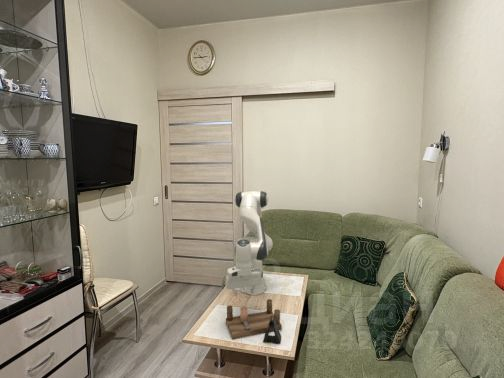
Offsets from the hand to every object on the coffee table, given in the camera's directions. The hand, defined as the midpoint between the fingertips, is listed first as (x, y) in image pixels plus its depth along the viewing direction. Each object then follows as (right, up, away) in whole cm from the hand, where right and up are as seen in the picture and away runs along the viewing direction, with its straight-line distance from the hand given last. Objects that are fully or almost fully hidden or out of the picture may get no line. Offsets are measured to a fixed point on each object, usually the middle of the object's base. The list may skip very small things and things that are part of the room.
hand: (243, 293), depth 168 cm
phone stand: (+15, -21, -9) cm, 27 cm away
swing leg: (+1, -17, -1) cm, 17 cm away
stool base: (+5, -19, +3) cm, 20 cm away
